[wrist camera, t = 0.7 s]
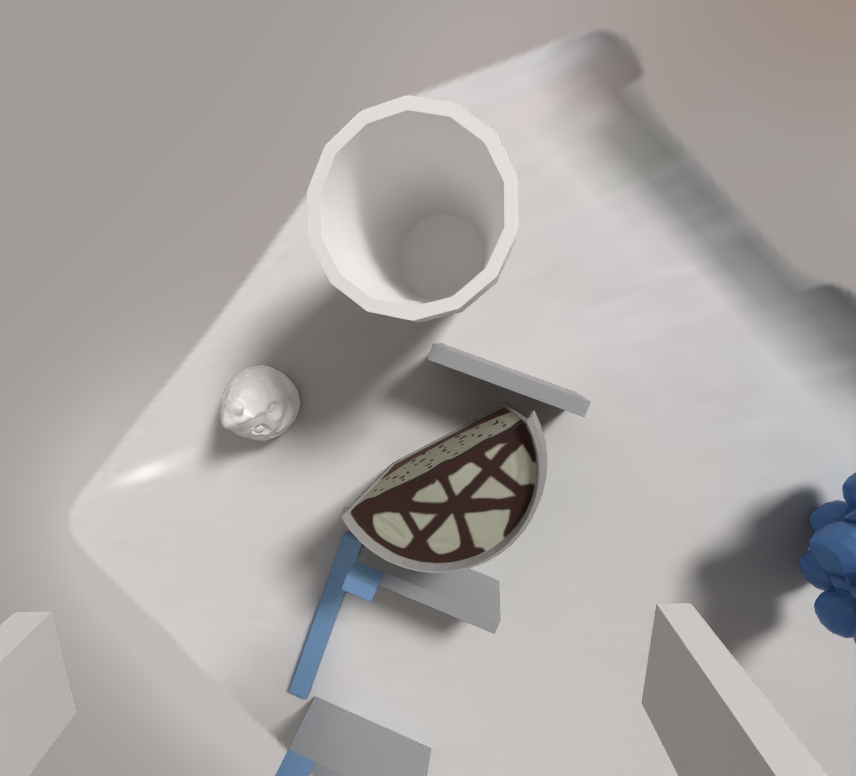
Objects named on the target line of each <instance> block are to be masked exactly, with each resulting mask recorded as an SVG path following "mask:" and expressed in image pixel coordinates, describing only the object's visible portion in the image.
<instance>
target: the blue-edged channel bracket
mask: <svg viewBox="0 0 856 776" xmlns="http://www.w3.org/2000/svg"><path fill="white" fill-rule="evenodd" d="M428 360H430V361H433V362H436V363H439V364H441V365H444V366H447V367H449V368H452V369H455V370H457V371H460V372H463V373H466V374H468V375H471V376H474V377H476V378H479V379H482V380H485V381H487V382H490V383H493V384H495V385H498V386H501V387H504V388H506V389H509V390H512V391H514V392H517V393H520V394H523V395H525V396H528V397H531V398H533V399H536V400H539V401H542V402H544V403H547V404H550V405H552V406H555V407H558V408H561V409H563V410H566V411H569V412H571V413H574V414H577V415H579V416H582V417H585V414H586V412H587V409H588V407H589V405H590V401H589V400H587V399H586V398H584V397H583V396H581V395H579V394H578V393H576V392H574V391H571V390H568V389H565V388H563V387H560V386H557V385H554V384H552V383H549V382H546V381H543V380H541V379H538V378H535V377H532V376H530V375H527V374H524V373H522V372H519V371H516V370H513V369H511V368H508V367H505V366H502V365H500V364H497V363H494V362H491V361H489V360H486V359H483V358H480V357H478V356H475V355H472V354H469V353H467V352H464V351H461V350H458V349H456V348H453V347H450V346H447V345H445V344H442V343H440V344H433V345H432V348H431V351H430V354H429V357H428ZM361 547H362V543H361V542H360V541H359V540H358V539H357V538H356V537H355V536H354V535H352V534H350V533H347V532H346V533H345V534H344V536H343V539H342V542H341V545H340V547H339V550H338V553H337V556H336V559H335V562H334V565H333V567H332V570H331V573H330V576H329V579H328V582H327V585H326V587H325V590H324V593H323V596H322V599H321V602H320V605H319V608H318V610H317V613H316V616H315V619H314V622H313V625H312V628H311V630H310V633H309V636H308V639H307V642H306V645H305V648H304V650H303V653H302V656H301V659H300V662H299V665H298V668H297V670H296V673H295V676H294V679H293V682H292V685H291V688H290V690H289V692H290V693H292V694H295V695H297V696H299V697H301V698H304V699H307V697H308V695H309V693H310V690H311V687H312V684H313V682H314V679H315V676H316V673H317V670H318V668H319V665H320V662H321V659H322V656H323V654H324V651H325V648H326V645H327V642H328V640H329V637H330V634H331V631H332V628H333V626H334V623H335V620H336V617H337V614H338V612H339V609H340V606H341V603H342V600H343V598H344V595H345V592H346V591H347V592H349V593H351V594H354V595H356V596H358V597H361V598H363V599H365V600H368V601H370V602H372V600H373V598H374V596H375V593H376V591H377V589H378V587H379V586H382V587H384V588H386V589H389V590H391V591H394V592H396V593H398V594H401V595H403V596H405V597H408V598H410V599H413V600H415V601H417V602H420V603H422V604H425V605H427V606H429V607H432V608H434V609H436V610H439V611H441V612H444V613H446V614H448V615H451V616H453V617H456V618H458V619H460V620H463V621H465V622H468V623H470V624H472V625H475V626H477V627H479V628H482V629H484V630H487V631H489V632H491V633H494V634H495V632H496V630H497V627H498V625H499V622H500V590H499V581H498V580H495V579H493V578H490V577H488V576H485V575H483V574H480V573H478V572H476V571H473V570H471V569H465V570H460V571H455V572H447V573H428V572H419V571H414V570H410V569H407V568H403V567H400V566H398V565H395V564H393V563H391V562H388V561H386V560H385V559H383V558H381V557H380V556H378V555H376V554H375V553H373V552H372V551H371V550H369V549H368V548H367V547H366V546H364V548H363V550H362V551H361V553H360V550H361ZM359 553H360V554H359ZM430 752H431V748H428V747H426V746H424V745H422V744H419V743H417V742H415V741H413V740H410V739H408V738H406V737H404V736H402V735H399V734H397V733H395V732H393V731H390V730H388V729H386V728H384V727H381V726H379V725H377V724H375V723H372V722H370V721H368V720H366V719H364V718H361V717H359V716H357V715H355V714H352V713H350V712H348V711H346V710H343V709H341V708H339V707H337V706H335V705H332V704H330V703H328V702H326V701H323V700H321V699H319V698H317V697H314V699H313V701H312V703H311V705H310V707H309V709H308V711H307V713H306V715H305V717H304V719H303V721H302V723H301V725H300V727H299V729H298V731H297V733H296V735H295V737H294V739H293V741H292V743H291V745H290V747H289V749H288V751H287V753H286V755H285V757H284V760H283V761H282V763H281V765H280V767H279V769H278V771H277V773H276V776H309V775H310V773H311V774H313V775H315V776H427V772H428V766H429V759H430Z"/></svg>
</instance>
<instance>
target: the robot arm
mask: <svg viewBox="0 0 856 776" xmlns="http://www.w3.org/2000/svg"><path fill="white" fill-rule="evenodd" d="M642 704H643V706H644V708H645V710H646V712H647V714H648V716H649V718H650V720H651V722H652V724H653V726H654V728H655V730H656V732H657V734H658V736H659V738H660V740H661V742H662V744H663V746H664V748H665V750H666V752H667V754H668V756H669V758H670V760H671V762H672V764H673V766H674V768H675V770H676V772H677V774H678V776H828V775H827V774H826V773H825V772H824V770H823V769H822V768H821V767H820V765H819V764H818V763H817V762H816V760H815V759H814V758H813V756H812V755H811V754H810V753H809V751H808V750H807V749H806V748H805V746H804V745H803V744H802V743H801V741H800V740H799V739H798V738H797V736H796V735H795V734H794V733H793V731H792V730H791V729H790V728H789V726H788V725H787V724H786V722H785V721H784V720H783V719H782V717H781V716H780V715H779V714H778V712H777V711H776V710H775V709H774V707H773V706H772V705H771V704H770V702H769V701H768V700H767V699H766V697H765V696H764V695H763V693H762V692H761V691H760V690H759V688H758V687H757V686H756V685H755V683H754V682H753V681H752V680H751V678H750V677H749V676H748V675H747V673H746V672H745V671H744V670H743V668H742V667H741V666H740V665H739V663H738V662H737V661H736V659H735V658H734V657H733V656H732V654H731V653H730V652H729V651H728V649H727V648H726V647H725V646H724V644H723V643H722V642H721V641H720V639H719V638H718V637H717V636H716V634H715V633H714V632H713V630H712V629H711V628H710V627H709V625H708V624H707V623H706V622H705V620H704V619H703V618H702V617H701V615H700V614H699V613H698V612H697V610H696V609H695V608H694V607H693V605H692V604H691V603H666V604H656V610H655V617H654V624H653V630H652V637H651V644H650V650H649V657H648V664H647V670H646V677H645V684H644V690H643V697H642ZM75 714H76V710H75V706H74V702H73V698H72V693H71V689H70V685H69V681H68V677H67V673H66V669H65V665H64V660H63V656H62V652H61V648H60V644H59V640H58V636H57V631H56V627H55V623H54V619H53V615H52V612H15V613H14V614H13V615H12V616H11V617H9V618H8V619H7V620H6V621H5V622H4V623H3V624H2V625H0V776H29V775H30V774H31V772H32V771H33V770H34V768H35V767H36V766H37V764H38V763H39V761H40V760H41V759H42V758H43V756H44V755H45V754H46V752H47V751H48V750H49V748H50V747H51V745H52V744H53V743H54V742H55V740H56V739H57V738H58V736H59V735H60V734H61V732H62V731H63V729H64V728H65V727H66V726H67V724H68V723H69V722H70V720H71V719H72V718H73V716H74V715H75Z"/></svg>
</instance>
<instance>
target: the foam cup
mask: <svg viewBox="0 0 856 776" xmlns="http://www.w3.org/2000/svg"><path fill="white" fill-rule="evenodd" d="M307 207H308V229H309V242H310V244H311V246H312V248H313V250H314V252H315V254H316V255H317V257H318V259H319V261H320V263H321V265H322V267H323V269H324V271H325V273H326V275H327V277H328V279H329V281H330V283H331V284H332V285H334V286H335V287H336V288H338V289H339V290H340V291H341V292H343V293H344V294H345V295H347V296H348V297H349V298H350V299H352V300H353V301H354V302H356V303H357V304H358V305H359V306H361V307H362V308H363V309H365V310H366V311H367V312H372V313H376V314H381V315H386V316H391V317H395V318H400V319H405V320H410V321H415V322H420V323H421V322H425V321H429V320H433V319H436V318H440V317H444V316H448V315H452V314H456V313H459V312H463V311H464V310H465V309H466V308H467V307H468V306H470V305H471V304H472V303H473V302H474V301H476V300H477V299H478V298H479V297H480V296H481V295H483V294H484V293H485V292H486V291H487V290H489V289H490V288H491V287H492V286H493V285H495V284H496V283H497V281H498V278H499V276H500V274H501V272H502V270H503V268H504V265H505V263H506V261H507V259H508V257H509V255H510V253H511V250H512V248H513V246H514V244H515V242H516V238H517V234H518V177H517V174H516V172H515V170H514V168H513V166H512V164H511V162H510V160H509V158H508V156H507V154H506V152H505V150H504V148H503V146H502V144H501V142H500V140H499V138H498V136H497V134H496V132H495V131H494V130H492V129H491V128H489V127H488V126H487V125H485V124H484V123H483V122H481V121H480V120H479V119H477V118H476V117H475V116H473V115H472V114H471V113H469V112H468V111H467V110H465V109H464V108H463V107H461V106H460V105H459V104H457V103H456V102H449V101H443V100H436V99H430V98H423V97H417V96H410V95H406V96H403V97H400V98H397V99H394V100H391V101H388V102H385V103H383V104H379V105H376V106H373V107H371V108H367V109H365V110H362V111H360V112H359V113H358V114H357V115H356V116H355V117H354V118H353V119H352V120H351V121H350V122H349V123H348V124H347V125H346V126H344V127H343V128H342V129H341V130H340V131H339V132H338V133H337V134H336V136H334V137H333V138H332V139H331V140H330V141H329V142H328V143H327V144H326V145H325V147H324V149H323V152H322V154H321V157H320V160H319V162H318V165H317V167H316V170H315V172H314V175H313V178H312V180H311V183H310V185H309V188H308V190H307Z"/></svg>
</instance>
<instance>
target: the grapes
mask: <svg viewBox="0 0 856 776" xmlns="http://www.w3.org/2000/svg"><path fill="white" fill-rule="evenodd" d="M842 490H843V497H844V499H845V500H846V502H845V501H839V500H836V501H832V502H828V503H824V504H823V505H821V506H820V507H818V508H817V509H816V510H815V511H814V512H813V513H812V515H811V517H810V523H811V528H812V529H813V531H814V535H813V536H812V537H811V538H810V541H809V546H810V550H808V551H807V552H805V554H804V555H803V556H802V558H801V559H800V568H801V571H802V573H803V575H804V576H805V578H806V580H807V581H808V582H810V583H811V584H812V585H813V586H814V587H816V588H818V589H821V590H824V592H823V593H821V594H820V595H819V596H818V598H817V599H816V601H815V604H814V608H815V613H816V615H817V617H818V618H819V620H820V622H821V624H823V625H824V626H825V627H826V628H827V629H828V630H829V631H830V632H832V633H834V634H836V635H839V636H842V637H845V638H852V637H854V641H855V643H856V473H854V474H853V475H851V476H850V477H848V479H847V480H846V481H845V482H844V484H843V488H842Z"/></svg>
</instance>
